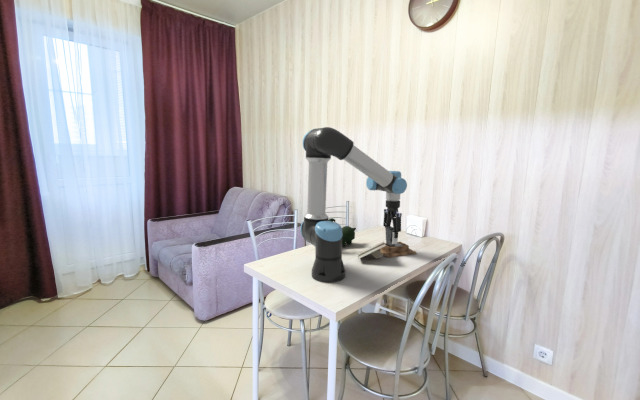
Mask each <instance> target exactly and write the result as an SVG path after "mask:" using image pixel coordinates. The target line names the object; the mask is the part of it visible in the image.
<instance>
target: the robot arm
mask: <svg viewBox="0 0 640 400" xmlns="http://www.w3.org/2000/svg"><path fill="white" fill-rule="evenodd" d="M302 147H303V149H304V152H305V159H306V160H307V162H308V175H307V177H308V181H307V212H306V213H305V214H304V215H303V221H302V222H301V224H300V228H299V229H300V235H301V237H302V238H303V239H304V241H306V242H307V243H309V244H310V245H312V246H313V247H315V259H314V262H313V265H312V268H311V277H312V278H313V279H314V280H316V281H319V282H322V283H334V282H339V281H342V280H343V279H345V277H346V271H347V270H346V268H345V264H344V261H343V246H342V236H343V234H342V227H343V226H342V225H341V224H340V223H338V222H336V221H335V222H334V221H333V222H331V221H328V220H329V215H328V214H327V213H326V209H327V207H326V206H327V182H328V181H327V180H328V163H329V162H330V161H331V159H332V156H333V157H334V158H336V159H338V160H339V161H345V162H346V163H348V164H349V165H350V166H352V167H353V168H355V169H357V170H358V171H360V172H361V173H362V174H363V175H365V176H367V178H366V183H365V184H366V187H367V189H368V190H369V191H380V192H385V199H386V200H385V208H384V209H383V213H384V214H383V224H382V226H383V227H384V228H385V227H388V226H391V223H392V227H393V229H394V231H393V239H392V244H397V242H399V241H398V239H399V232H400V233H401V232H402V217H403V216H402V215H403V214H402V213H401V212H399V208H400V207H401V201H400V200H401V195H402V194H404V193H405V192H406V191H407V187H408V183H407V181H406V179H405V178H402V172H401V171H399V170H387V169H386V168H385V167H384V166H383V165H381V164H379V163H378V162H377V161H376V160H374V159H373V158H372V157H371V156H369V155H368V154H366V153H365V152H363V151H362V150H361V149H360V148H358V147H357V146H355V143H354V141H353V140H352V139H350V138H349V137H348V136H346V135H345V134H343V133H342V132H340V131H339V130H337V129H335V128H332V127H329V126H324V127H318V128H313V129H311V130H309V131H308V132H306V133H305V135H304V136H303V138H302ZM384 241H386V236H385V240H384Z"/></svg>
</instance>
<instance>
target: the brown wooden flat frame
mask: <svg viewBox="0 0 640 400" xmlns="http://www.w3.org/2000/svg"><path fill="white" fill-rule="evenodd" d="M384 243H385V245H386V242H384ZM397 243H400V244H401V245H403V246H396V247H389V246H387V245H386V246H384V247H382V248H380V250H381V253H382V255H383V257H386V258H388V259H389V258H394V257H402V256H410V255H411V256H412V255H417V251H415V250H413V249H411V248H410V246H409V245H408V244H406V243H404V242H402V241H398V242H397Z"/></svg>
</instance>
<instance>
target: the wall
mask: <svg viewBox="0 0 640 400" xmlns="http://www.w3.org/2000/svg"><path fill="white" fill-rule="evenodd" d="M385 243H386V242H385V240H383V241H380V242H379V243H377V244H375V245H372V246H371V247H369V248H366V249H364V250H362V251H360V252H358V253H357V255H358V256H357V259H358V260H359V259H361V258H364V257H365V256H368V255H370V254H371V255H372V256H373V257H374V259H376V260H377V259H380V258H382V257H384V255H382V253H381V250H380V248H382V247H384V246H386V245H385Z"/></svg>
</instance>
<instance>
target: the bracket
mask: <svg viewBox="0 0 640 400" xmlns="http://www.w3.org/2000/svg"><path fill="white" fill-rule="evenodd" d="M384 228H385V230H384V231H385V237H386V240H385V243H386V245H387V246H389V247H396V246H403V245H401V244H400V243H397V244H392V239H393V231H394V229H393V226H391V225H390V226H388V227H385V226H384Z"/></svg>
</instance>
